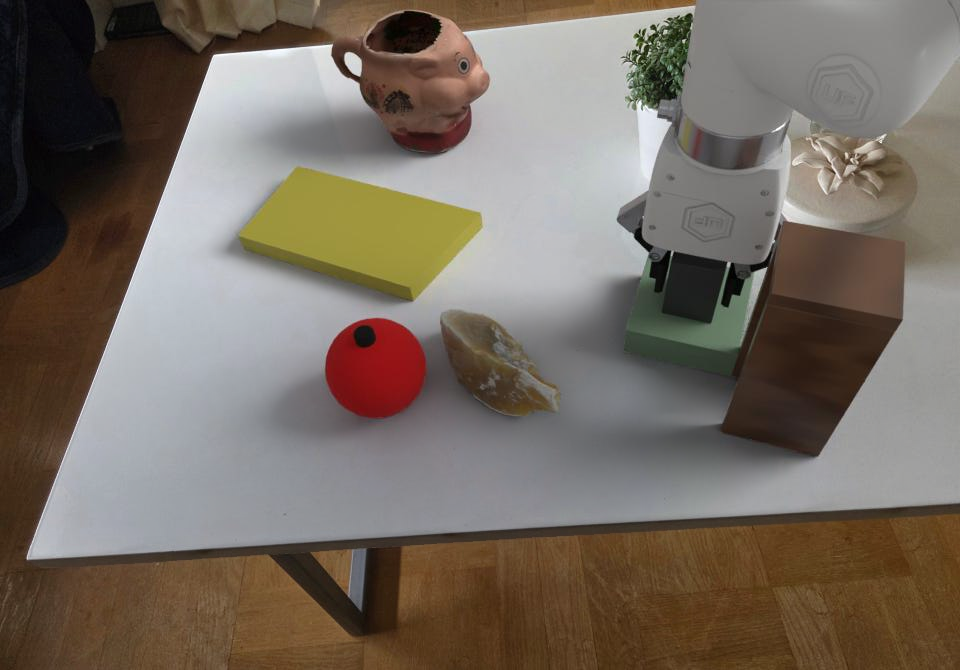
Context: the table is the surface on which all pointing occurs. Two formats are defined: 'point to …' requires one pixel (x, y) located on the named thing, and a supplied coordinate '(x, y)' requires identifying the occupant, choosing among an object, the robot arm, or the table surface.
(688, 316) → the block
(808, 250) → the tall brown wooden block
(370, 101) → the face mug
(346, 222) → the flat olive board
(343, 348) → the ornament
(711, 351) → the sage green square slab
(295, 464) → the table surface
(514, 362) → the stone
